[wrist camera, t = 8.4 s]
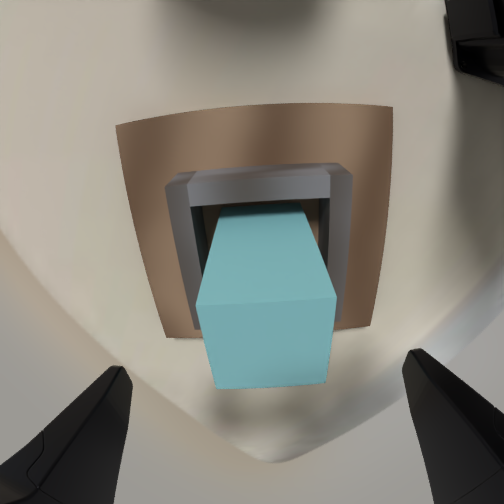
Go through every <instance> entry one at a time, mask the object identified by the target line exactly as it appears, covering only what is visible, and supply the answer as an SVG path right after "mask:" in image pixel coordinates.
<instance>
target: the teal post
mask: <svg viewBox="0 0 504 504" xmlns="http://www.w3.org/2000/svg"><path fill="white" fill-rule="evenodd" d="M336 301H337V296H336V293H335V291H334V288H333V285H332V282H331V280H330V277H329V274H328V272H327V269H326V266H325V264H324V261H323V259H322V256H321V253H320V251H319V248H318V246H317V243H316V241H315V238H314V236H313V233H312V231H311V228H310V226H309V223H308V221H307V218H306V216H305V213H304V211H303V209H302V206H301V204H300V203H283V204H266V205H250V206H236V207H223V208H222V209H221V212H220V216H219V219H218V223H217V226H216V230H215V233H214V237H213V241H212V244H211V248H210V252H209V255H208V259H207V263H206V267H205V271H204V274H203V278H202V282H201V286H200V290H199V294H198V298H197V302H196V310H197V314H198V318H199V323H200V327H201V331H202V335H203V339H204V343H205V347H206V351H207V355H208V359H209V363H210V367H211V371H212V374H213V378H214V382H215V385H216V389H246V388H270V387H285V386H298V385H309V384H319V383H325V382H326V376H327V370H328V363H329V357H330V350H331V342H332V335H333V327H334V319H335V310H336Z"/></svg>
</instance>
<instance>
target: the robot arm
mask: <svg viewBox="0 0 504 504" xmlns="http://www.w3.org/2000/svg"><path fill="white" fill-rule="evenodd" d="M446 5H447V11H448V17H449V24H450V31H451V37H452V47H453V58H454V66H455V68H456V70H457V71H458V72H460V73H462V74H466V75H470V76H473V77H476V78H480V79H483V80H486V81H489V82H492V83H495V84H498V85H501V86H503V87H504V0H446ZM461 62H462V64H463V68H462V67H461ZM402 374H403V378H404V383H405V388H406V393H407V398H408V403H409V408H410V413H411V416H412V420H413V423H414V426H415V429H416V433H417V436H418V440H419V444H420V447H421V451H422V455H423V458H424V462H425V466H426V470H427V474H428V478H429V483H430V487H431V491H432V496H433V501H434V504H504V414H503V413H502V412H501V411H500V410H498V409H497V408H496V407H495V408H494V406H493V405H492V404H491V403H490V402H489V401H487V400H486V399H485V398H484V397H482V396H481V395H480V394H478V393H477V392H476V391H475V390H474V389H472V388H471V387H470V386H469V385H467V384H466V383H465V382H464V381H462V380H461V379H460V378H458V377H457V376H456V375H455V374H454V373H452V372H451V371H450V370H449V369H447V368H446V367H445V366H443V365H442V364H441V363H440V362H438V361H437V360H436V359H434V358H433V357H432V356H431V355H429V354H428V353H427V352H425V351H424V350H423V349H421V348H418V349H413V350H410V351H409V352H408V354H407V356H406V359H405V362H404V364H403V368H402ZM132 389H133V385H132V381H131V379H130V377H129V375H128V374H127V372H126V370H125V368H124V367H123V366H111V367H109V368H108V369H107V370H106V371H105V372H104V373H103V374H102V375H101V376H100V377H98V378H97V380H95V381H94V382H93V383H92V384H91V385H90V386H89V387H88V388H87V389H86V390H84V391H83V392H82V393H81V394H80V395H79V396H78V397H77V398H76V399H75V400H74V401H73V402H72V403H71V404H70V405H69V406H68V407H66V408H65V409H64V410H63V411H62V412H61V413H60V414H59V415H58V416H57V417H56V418H55V419H54V420H53V421H52V422H51V423H49V424H48V425H47V426H46V427H45V428H44V430H42V431H41V432H40V433H39V434H38V435H37V436H36V437H35V438H33V439H32V440H31V441H30V442H29V443H28V444H27V445H26V446H24V447H23V448H22V449H21V450H19V451H18V452H17V453H16V454H14V455H13V456H12V457H11V458H9V459H8V460H6V461H5V462H4V463H3V464H2V465H0V504H113V503H114V497H115V491H116V485H117V480H118V474H119V469H120V464H121V459H122V453H123V449H124V444H125V440H126V434H127V430H128V424H129V415H130V406H131V397H132Z"/></svg>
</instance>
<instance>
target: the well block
mask: <svg viewBox="0 0 504 504" xmlns="http://www.w3.org/2000/svg"><path fill="white" fill-rule="evenodd" d="M116 133H117V140H118V146H119V152H120V158H121V164H122V169H123V175H124V180H125V185H126V190H127V195H128V200H129V204H130V209H131V213H132V218H133V222H134V227H135V231H136V235H137V239H138V243H139V247H140V251H141V255H142V258H143V262H144V266H145V270H146V273H147V277H148V280H149V284H150V287H151V291H152V294H153V297H154V301H155V304H156V307H157V310H158V313H159V317H160V320H161V323H162V326H163V329H164V332H165V335H166V338H203V335H202V331H201V327H200V323H199V318H198V314H197V310H196V302H197V298H198V294H199V290H200V286H201V282H202V278H203V274H204V271H205V267H206V263H207V259H208V255H209V252H210V248H211V244H212V241H213V237H214V233H215V230H216V226H217V223H218V219H219V216H220V212H221V209H222V208H223V207H236V206H250V205H266V204H283V203H300V204H301V206H302V209H303V211H304V213H305V216H306V218H307V221H308V223H309V226H310V228H311V231H312V233H313V236H314V238H315V241H316V243H317V246H318V248H319V251H320V253H321V256H322V259H323V261H324V264H325V266H326V269H327V272H328V274H329V277H330V280H331V282H332V285H333V288H334V291H335V293H336V296H337V301H336V310H335V319H334V327H333V330H338V329H348V328H356V327H365V326H370V324H371V319H372V314H373V309H374V304H375V299H376V293H377V288H378V282H379V276H380V270H381V264H382V257H383V250H384V243H385V235H386V226H387V217H388V207H389V196H390V183H391V167H392V141H393V107H388V106H377V105H362V104H339V103H288V104H264V105H248V106H236V107H225V108H216V109H207V110H199V111H191V112H184V113H178V114H171V115H165V116H159V117H154V118H148V119H143V120H138V121H133V122H129V123H124V124H120V125H116Z"/></svg>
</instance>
